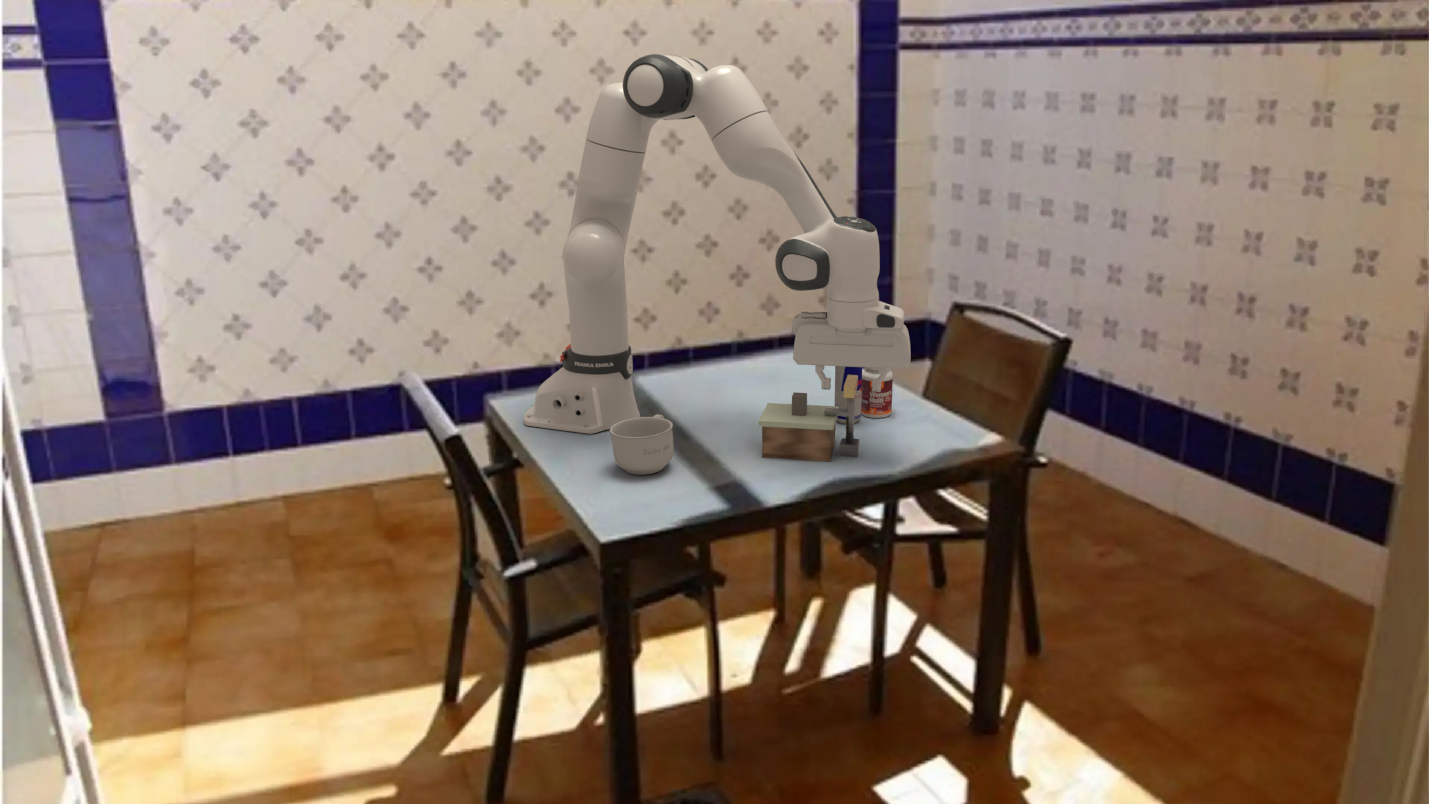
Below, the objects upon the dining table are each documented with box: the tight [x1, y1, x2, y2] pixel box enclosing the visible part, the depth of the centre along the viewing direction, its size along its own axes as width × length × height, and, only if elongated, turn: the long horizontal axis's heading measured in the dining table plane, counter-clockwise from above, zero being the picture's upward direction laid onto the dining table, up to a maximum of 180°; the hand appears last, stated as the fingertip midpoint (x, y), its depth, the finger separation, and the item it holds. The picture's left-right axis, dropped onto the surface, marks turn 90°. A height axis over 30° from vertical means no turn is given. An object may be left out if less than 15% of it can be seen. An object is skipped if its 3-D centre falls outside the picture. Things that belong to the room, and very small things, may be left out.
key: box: [824, 375, 858, 442], centre depth 209 cm, size 5×7×11 cm
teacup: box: [609, 413, 675, 476], centre depth 206 cm, size 14×11×8 cm
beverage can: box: [834, 366, 863, 425], centre depth 226 cm, size 5×5×15 cm
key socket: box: [839, 437, 860, 458], centre depth 211 cm, size 3×3×2 cm
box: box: [761, 421, 837, 462], centre depth 212 cm, size 12×9×6 cm
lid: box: [758, 392, 839, 430], centre depth 211 cm, size 13×10×5 cm
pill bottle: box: [861, 367, 894, 419], centre depth 230 cm, size 6×6×11 cm
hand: (851, 389), depth 208 cm, fingers open, 7 cm apart
